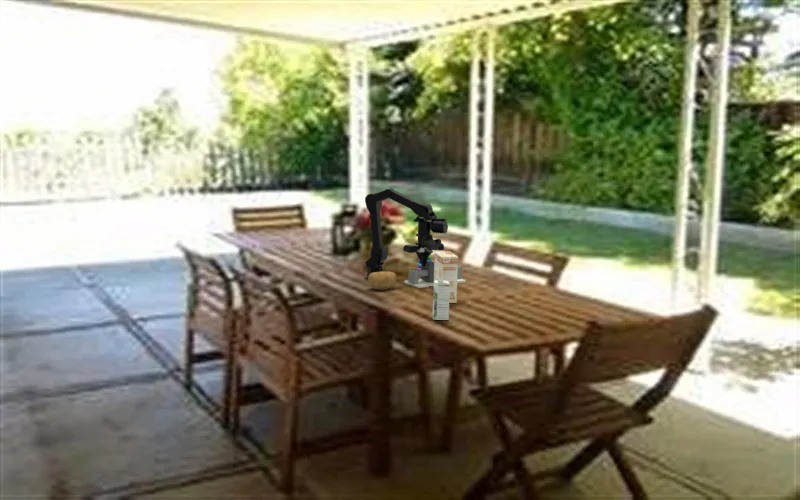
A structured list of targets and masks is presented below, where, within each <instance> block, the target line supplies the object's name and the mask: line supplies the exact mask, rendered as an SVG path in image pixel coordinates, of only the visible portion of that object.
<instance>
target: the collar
mask: <svg viewBox="0 0 800 500" xmlns="http://www.w3.org/2000/svg"><path fill="white" fill-rule="evenodd" d="M427 269H428V276H424V277H420V279H422V280H425V281H428V282H434V261H432V262H431V261H428V260H427V262H426V265H425V267H423V266H422V265H421V270H427Z"/></svg>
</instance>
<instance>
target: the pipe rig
mask: <svg viewBox="0 0 800 500" xmlns="http://www.w3.org/2000/svg"><path fill="white" fill-rule="evenodd" d="M462 275H463V274H462V266H459V265H458V276H457V284H463V283H465V284H466V283H467V280H466V279H463V278H462ZM424 276H428V269H427V270H417V269H416V270H415V269H409V270H408V276H407V277H408V280H404V281H403V283H404V284H406V285H408V286H409V285H410V286H412V287H415V288H418V289H419V288H420V289H421V288H422V289H423V288H430V287H429V286H431V287H434V282H428V281H425V280H422V279H421V277H424Z"/></svg>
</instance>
